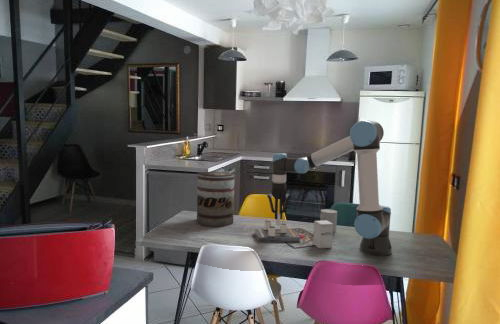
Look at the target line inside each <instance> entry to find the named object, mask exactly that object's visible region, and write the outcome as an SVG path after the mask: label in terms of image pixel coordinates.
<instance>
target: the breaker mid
mask: <svg viewBox="0 0 500 324" xmlns="http://www.w3.org/2000/svg"><path fill="white" fill-rule="evenodd" d="M279 229H280V233H287V229H288V225H287V223H285V222H284V223H282V222H280V226H279Z"/></svg>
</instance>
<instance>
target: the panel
mask: <svg viewBox="0 0 500 324" xmlns="http://www.w3.org/2000/svg"><path fill="white" fill-rule="evenodd" d="M254 236H255V237H256V239H257V242H258V243H299V242H300V243H301V237H300V235H299V234H298V233H297V232H296V230H294V229H293V228H287V233H280V228H275V236H268V230H265V229H264V228H263V229H261V228H259V229H258V228H257V229H255V228H254Z"/></svg>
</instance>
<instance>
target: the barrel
mask: <svg viewBox="0 0 500 324" xmlns="http://www.w3.org/2000/svg"><path fill="white" fill-rule="evenodd" d="M235 178H236V177H235V174H234V173H232V172H228V171H227V172H226V171H204V172H202V171H201V172H198V173H197V187H196V188H197V193H196V194H197V196H196V198H197V200H196V201H197V202H196V203H197V204H196V224H198V225H200V226H202V227H209V228H221V227H223V228H225V227H228V226H231V225H233V224H234V213H235V212H234V207H235V205H234V204H235Z"/></svg>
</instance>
